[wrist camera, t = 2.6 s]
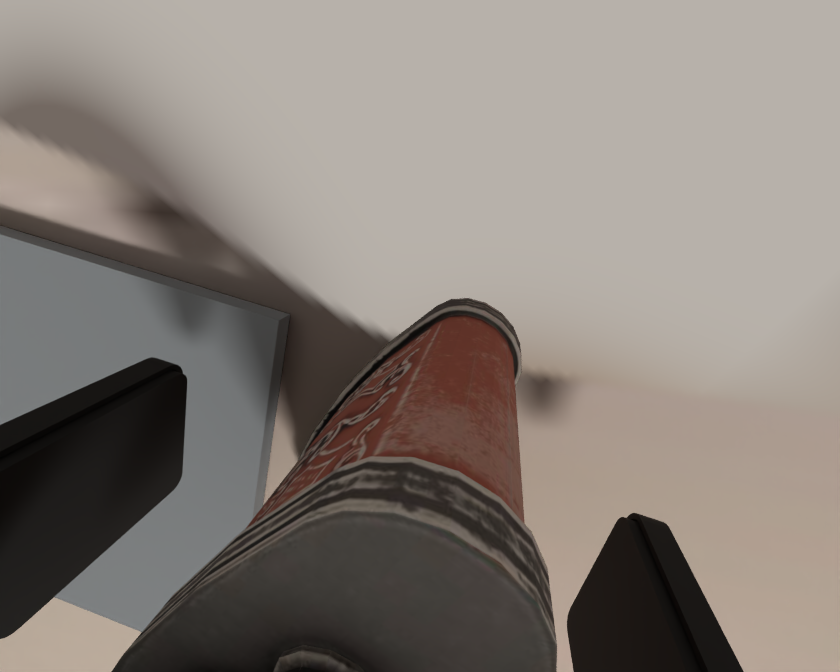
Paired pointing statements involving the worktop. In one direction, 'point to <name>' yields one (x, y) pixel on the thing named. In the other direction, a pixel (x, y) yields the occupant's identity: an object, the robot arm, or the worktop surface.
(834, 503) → the worktop surface
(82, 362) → the mat
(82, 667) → the worktop surface
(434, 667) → the lighter
